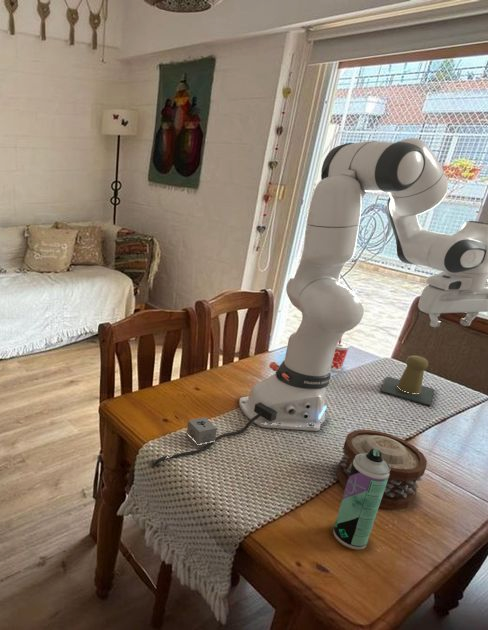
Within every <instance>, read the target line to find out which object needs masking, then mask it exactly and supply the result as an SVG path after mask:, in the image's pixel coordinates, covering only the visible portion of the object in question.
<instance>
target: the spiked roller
mask: <svg viewBox="0 0 488 630" xmlns="http://www.w3.org/2000/svg"><path fill="white" fill-rule="evenodd" d="M344 440H345V441H344V444H343V447H341V449H342V450H341V451H342V453H343V454H342V455H341V456H342V457H341V458H340V461H339V463H338V466H337V469H336V477H337V480H338V482H339V483H340V484H341V486H342V487H343V488H344V489H345V488H346V485H347V481H348V478H349V474H350V471H351V467H352V464H353V460H354V459H355V456H356V455H358V454H362V453H364V454H366V453H369V452H370V450H371V449H376V450H378V451H380V452H381V454H382V455H381V457H382V459H383V460H384V461H385V462H387V463H388V465H389V466H390V475H389V478H388V481H387V484H386V487H385V490H384V493H383V496H382V499H381V502H380V505H379V508H382V509H390V510H401V509H407V508H409V507H411V506H412V505H413V504H414V501H415V500H416V496H417V491H418V489H419V488H420V486H419V485H418V483H417V482H418V481H422V482H423V479H422V478H421V477H423V476H424V474H425V472H426V469H427V466H428V465H427V464H428V463H427V462H428V460H427V458H426V457H425V455H424V453H423V452H422V451H421V450H419V449H418V448H417V447H416V446H415V445H413V444H411V443H410V442H408V441H406V440H405V439H403V438H400V437H398V436H396V435H393V434H390V433H387V432H382V431H379V430H373V429H372V430H371V429H357V430H353V431H351V432H349V433H348V434H347V435H346V437H345V439H344Z"/></svg>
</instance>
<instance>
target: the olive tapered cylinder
mask: <svg viewBox="0 0 488 630" xmlns="http://www.w3.org/2000/svg"><path fill="white" fill-rule="evenodd" d="M405 365H406V367H405V369H404V371H403V372H402V375H401V376H400V378H399V382H398V384H397V386H398V387H399V388H400V389H401V390H400V389H399V388H398V387H397V386H396V388H397V389H398V390H399V391H401V392H403V393H406V394H410V395H419V394H420V393H421V387H422V386H423V380H424V372H425V370H427V368H428V367H429V361H428V359H426V358H425V357H423V356H420V355H409V356H408V357H407V358H406V360H405ZM402 390H403V391H402ZM404 391H406V392H404ZM407 392H409V393H407ZM412 393H419V394H412Z"/></svg>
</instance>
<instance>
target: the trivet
mask: <svg viewBox="0 0 488 630" xmlns="http://www.w3.org/2000/svg"><path fill="white" fill-rule="evenodd" d="M399 380H400V378H395V377H392V376H386V377H385V380H384V382H383V385H382V388H381V389H380V393H381V394H385V395H389V396H392V397H396V398H400V399H402V400H406V401H410V402H413V403H416V404H420V405H424V406H426V407H431V404H432V400H433V395H434V391H435V389H434V388H432V387H429V386H425V385H422V387H421V393H420V394H419V395H410V394H406V393H403V392H401V391H399V390H398V389H397V388H396V386H397V384H398V382H399Z"/></svg>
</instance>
